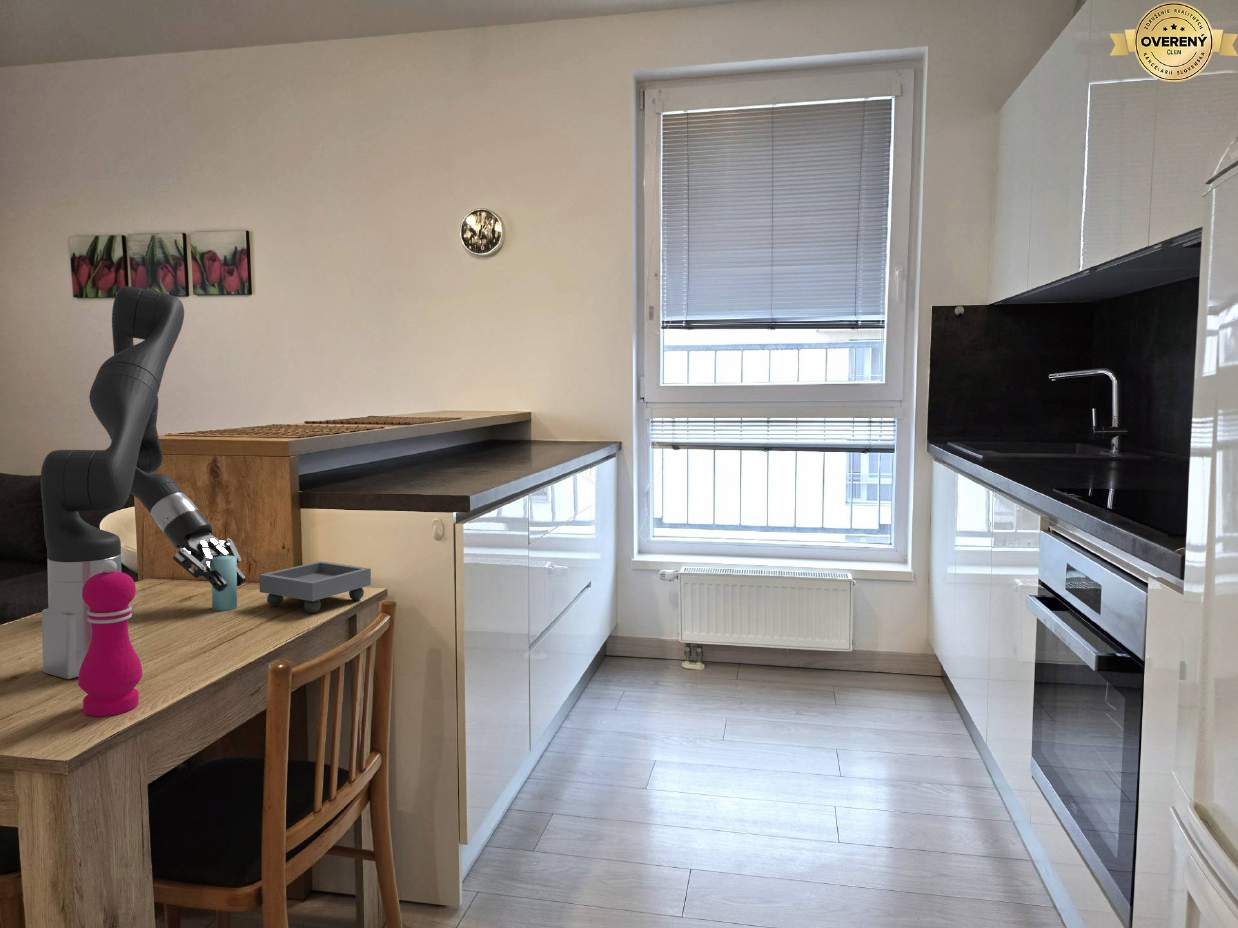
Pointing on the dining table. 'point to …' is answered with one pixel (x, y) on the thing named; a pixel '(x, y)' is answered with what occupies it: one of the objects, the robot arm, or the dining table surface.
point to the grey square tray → (314, 583)
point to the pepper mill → (109, 645)
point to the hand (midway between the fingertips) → (232, 585)
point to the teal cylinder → (229, 573)
